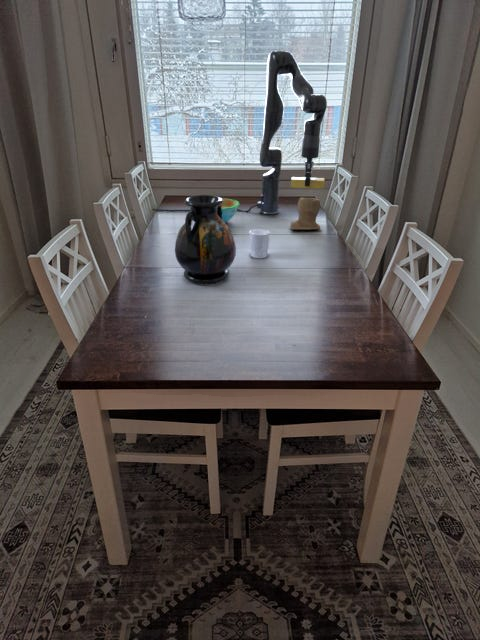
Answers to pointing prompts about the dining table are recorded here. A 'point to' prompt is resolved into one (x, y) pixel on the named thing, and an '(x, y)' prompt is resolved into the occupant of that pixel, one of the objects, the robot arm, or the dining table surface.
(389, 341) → the dining table surface
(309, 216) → the stone cup
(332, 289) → the dining table surface
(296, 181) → the packet
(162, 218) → the dining table surface
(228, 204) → the bowl
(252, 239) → the white cup
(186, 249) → the amphora vase
